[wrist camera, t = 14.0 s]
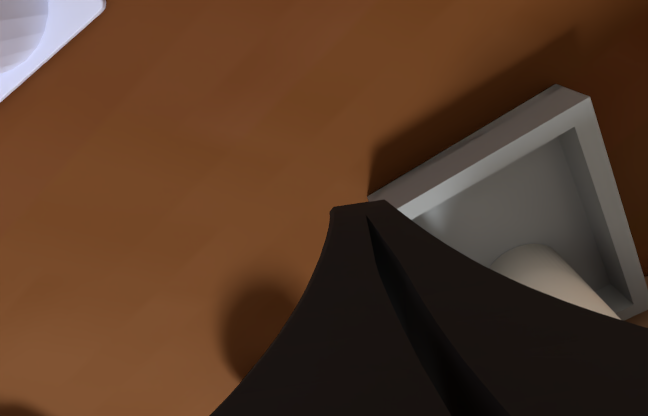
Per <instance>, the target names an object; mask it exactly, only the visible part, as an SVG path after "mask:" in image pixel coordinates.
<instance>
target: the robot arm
mask: <svg viewBox="0 0 648 416" xmlns="http://www.w3.org/2000/svg"><path fill="white" fill-rule="evenodd" d="M105 8H106V0H0V102H2V101H3V100H4V99H5V98H6V97H7V96H8V95H9V94H11V93H12V92H13V91H14V90H15V89H16V88H17V87H18V86H20V85H21V84H22V83H23V82H24V81H25V80H26V79H27V78H29V77H30V76H31V75H32V74H33V73H34V72H35V71H37V70H38V69H39V68H40V67H41V66H42V65H43V64H44V63H46V62H47V61H48V60H49V59H50V58H51V57H52V56H53V55H55V54H56V53H57V52H58V51H59V50H60V49H61V48H62V47H64V46H65V45H66V44H67V43H68V42H69V41H70V40H71V39H73V38H74V37H75V36H76V35H77V34H78V33H79V32H80V31H82V30H83V29H84V28H85V27H86V26H87V25H88V24H90V23H91V22H92V21H93V20H94V19H95V18H96V17H97V16H99V15H100V14H101V13H102V12H103V11H104V9H105ZM210 416H648V328H646V327H642V326H639V325H636V324H633V323H629V322H626V321H623V320H620V319H617V318H613V317H610V316H607V315H604V314H601V313H597V312H594V311H592V310H589V309H586V308H583V307H580V306H577V305H574V304H571V303H569V302H566V301H563V300H561V299H558V298H556V297H553V296H551V295H548V294H546V293H543V292H540V291H538V290H535V289H533V288H530V287H528V286H526V285H523V284H521V283H519V282H517V281H514V280H512V279H510V278H508V277H506V276H504V275H502V274H500V273H498V272H496V271H494V270H492V269H490V268H487V267H485V266H483V265H481V264H480V263H478V262H476V261H474V260H472V259H470V258H469V257H467V256H465V255H464V254H462V253H460V252H459V251H457V250H455V249H454V248H452V247H450V246H449V245H447V244H445V243H444V242H442V241H441V240H439V239H438V238H436V237H435V236H433V235H432V234H430V233H429V232H427V231H426V230H424V229H423V228H422V227H420V226H419V225H417V224H416V223H415V222H413V221H412V220H411V219H409V218H408V217H407V216H405V215H404V214H403V213H402V212H400V211H399V210H398V209H396V208H395V207H394V206H393V205H391V204H390V203H389V202H387V201H386V200H385V199H384V200H377V201H371V202H364V203H357V204H351V205H344V206H337V207H333V209H332V210H331V211H330V223H329V228H328V232H327V237H326V240H325V243H324V246H323V249H322V252H321V255H320V258H319V261H318V263H317V265H316V268H315V270H314V272H313V275H312V277H311V279H310V281H309V283H308V285H307V287H306V289H305V291H304V293H303V295H302V297H301V299H300V301H299V302H298V304H297V306H296V308H295V309H294V311H293V313H292V314H291V316H290V317H289V319H288V321H287V322H286V324H285V325H284V327H283V328H282V330H281V331H280V333H279V334H278V336H277V337H276V338H275V340H274V341H273V343H272V344H271V345H270V347H269V348H268V349H267V351H266V352H265V353H264V355H263V356H262V357H261V358H260V359H259V361H258V362H257V363H256V364H255V365H254V367H253V368H252V369H251V370H250V372H249V373H248V374H247V375H246V376H245V378H244V379H243V380H242V381H241V383H240V384H239V385H238V386H237V387H236V388H235V390H234V391H233V392H232V393H231V394H230V395H229V396H228V397H227V398H226V399H225V400H224V401H223V402H222V403H221V404H220V405H219V407H218V408H217V409H216V410H215V411H214V412H213V413H212V414H211V415H210Z"/></svg>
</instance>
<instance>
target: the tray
mask: <svg viewBox="0 0 648 416" xmlns="http://www.w3.org/2000/svg"><path fill="white" fill-rule="evenodd" d="M367 198H368V200H369V202H371V201H377V200H384V199H385V200H386V201H387V202H389V203H390V204H391V205H393V206H394V207H395V208H396V209H398V210H399V211H400V212H402V213H403V214H404V215H405V216H407V217H408V218H409V219H411V220H412V221H413V222H415V223H416V224H417V225H419V226H420V227H422V228H423V229H424V230H426V231H427V232H429V233H430V234H432V235H433V236H435V237H436V238H438V239H439V240H441V241H442V242H444V243H445V244H447V245H449V246H450V247H452V248H454V249H455V250H457V251H459V252H460V253H462V254H464V255H465V256H467V257H469V258H470V259H472V260H474V261H476V262H478V263H480V264H481V265H483V266H485V267H487V268H490V266H491V265H492V264H493V262H494V261H495V260H496V259H497V258H499V257H500V256H501V255H502V254H504V253H505V252H507V251H509V250H511V249H513V248H515V247H518V246H522V245H526V244H542V245H546V246H548V247H551V248H552V249H554V250H555V251H556V252H557V253H558V254H559V255H560V256H561V257H562V258H563V259H564V260H565V261H566V262H567V263H568V264H569V265H570V266H571V268H572V269H573V270H574V271H575V272H576V273H577V274H578V275H579V276H580V277H581V278H582V279H583V280H584V281H585V282H586V283H587V284H588V285H589V286H590V287H591V288H592V289H593V291H594V292H595V293H596V294H597V295H598V296H599V297H600V298H601V299H602V300H603V301H604V302H605V303H606V304H607V305H608V306H609V307H610V308H611V309H612V310H613V311H614V313H615V314H616V315H617V316H618V317H619V318H620V319H621V320H623V321H624V320H627V319H629V318H631V317H633V316H635V315H637V314H640V313H642V312H644V311H646V310H648V289H647V285H646V282H645V279H644V275H643V272H642V268H641V265H640V262H639V258H638V255H637V252H636V248H635V245H634V242H633V238H632V235H631V232H630V228H629V225H628V222H627V218H626V215H625V212H624V208H623V205H622V202H621V198H620V195H619V192H618V188H617V185H616V182H615V178H614V175H613V172H612V168H611V165H610V162H609V158H608V155H607V152H606V148H605V145H604V142H603V138H602V135H601V132H600V128H599V125H598V122H597V118H596V115H595V112H594V108H593V105H592V102H591V98H590V96H587V95H584V94H582V93H579V92H576V91H574V90H571V89H568V88H566V87H563V86H560V85H558V84H555V85H553V86H551V87H550V88H548V89H546V90H545V91H543V92H541V93H540V94H538V95H536V96H535V97H533V98H531V99H530V100H528V101H526V102H525V103H523V104H521V105H520V106H518V107H516V108H514V109H513V110H511V111H509V112H508V113H506V114H504V115H503V116H501V117H499V118H498V119H496V120H494V121H493V122H491V123H489V124H488V125H486V126H484V127H483V128H481V129H479V130H478V131H476V132H474V133H473V134H471V135H469V136H468V137H466V138H464V139H463V140H461V141H459V142H458V143H456V144H454V145H453V146H451V147H449V148H448V149H446V150H444V151H443V152H441V153H439V154H438V155H436V156H434V157H433V158H431V159H429V160H428V161H426V162H424V163H422V164H421V165H419V166H417V167H416V168H414V169H412V170H411V171H409V172H407V173H406V174H404V175H402V176H401V177H399V178H397V179H396V180H394V181H392V182H391V183H389V184H387V185H386V186H384V187H382V188H381V189H379V190H377V191H376V192H374V193H372V194H371V195H369V196H367Z"/></svg>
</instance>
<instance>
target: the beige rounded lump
mask: <svg viewBox="0 0 648 416" xmlns="http://www.w3.org/2000/svg"><path fill="white" fill-rule="evenodd" d="M490 269H492V270H494V271H496V272H498V273H500V274H502V275H504V276H506V277H508V278H510V279H512V280H514V281H517V282H519V283H521V284H523V285H526V286H528V287H530V288H533V289H535V290H538V291H540V292H543V293H546V294H548V295H551V296H553V297H556V298H558V299H561V300H563V301H566V302H569V303H571V304H574V305H577V306H580V307H583V308H586V309H589V310H592V311H594V312H597V313H601V314H604V315H607V316H610V317H613V318H617V319H620V318H619V317H618V316H617V315H616V314H615V313H614V311H613V310H612V309H611V308H610V307H609V306H608V305H607V304H606V303H605V302H604V301H603V300H602V299H601V298H600V297H599V296H598V295H597V294H596V293H595V292H594V291H593V289H592V288H591V287H590V286H589V285H588V284H587V283H586V282H585V281H584V280H583V279H582V278H581V277H580V276H579V275H578V274H577V273H576V272H575V271H574V270H573V269H572V268H571V266H570V265H569V264H568V263H567V262H566V261H565V260H564V259H563V258H562V257H561V256H560V255H559V254H558V253H557V252H556V251H555V250H554V249H552V248H551V247H548V246H546V245H542V244H526V245H522V246H518V247H515V248H513V249H511V250H509V251H507V252H505V253H504V254H502V255H501V256H500V257H499V258H497V259H496V260H495V261H494V262H493V264H492V265H491V266H490ZM620 320H621V319H620Z"/></svg>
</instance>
